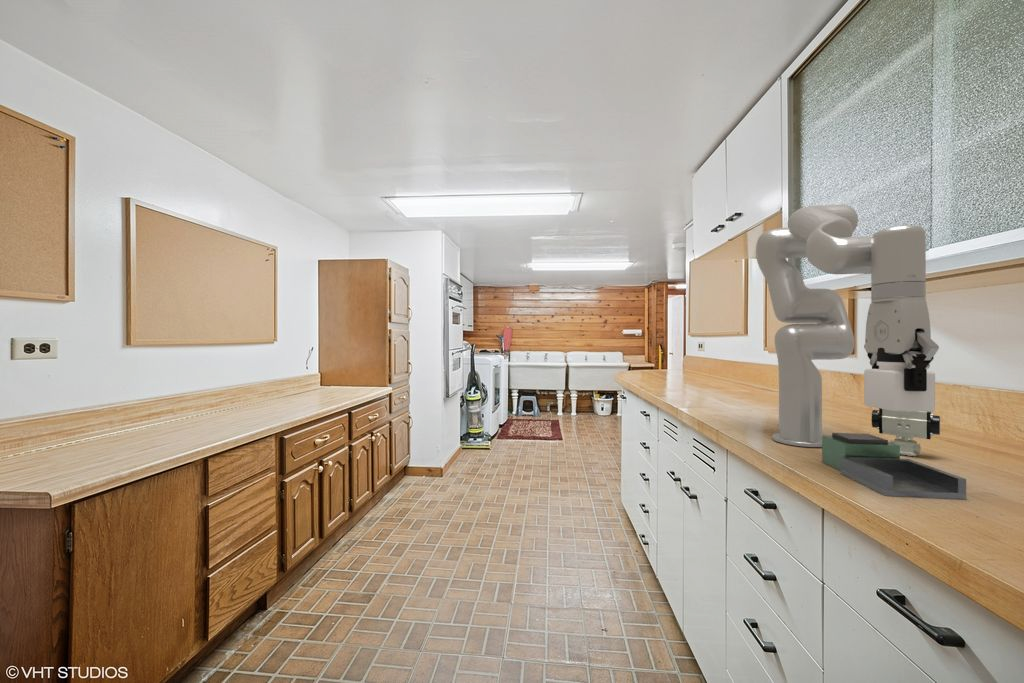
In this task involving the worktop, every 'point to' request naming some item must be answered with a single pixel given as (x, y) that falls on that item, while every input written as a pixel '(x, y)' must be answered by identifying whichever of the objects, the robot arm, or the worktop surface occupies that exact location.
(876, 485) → the grey and green bracket
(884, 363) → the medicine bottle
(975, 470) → the worktop surface
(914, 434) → the pneumatic valve
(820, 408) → the robot arm
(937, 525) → the worktop surface
